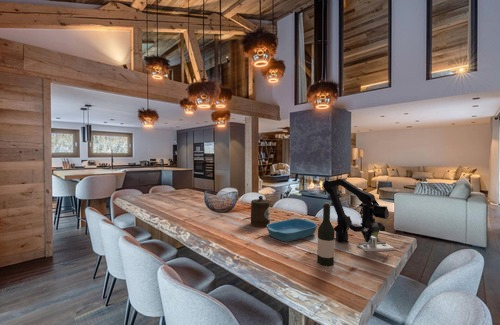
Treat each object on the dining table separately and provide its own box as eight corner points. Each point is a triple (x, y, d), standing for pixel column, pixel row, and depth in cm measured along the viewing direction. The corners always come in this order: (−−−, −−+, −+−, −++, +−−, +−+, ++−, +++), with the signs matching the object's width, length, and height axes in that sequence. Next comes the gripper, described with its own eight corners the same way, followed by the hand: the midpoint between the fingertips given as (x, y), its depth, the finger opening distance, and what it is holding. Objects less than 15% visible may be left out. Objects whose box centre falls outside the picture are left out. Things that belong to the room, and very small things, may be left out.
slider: (372, 247, 134) (372, 238, 134) (368, 244, 138) (368, 236, 138) (377, 246, 134) (377, 238, 134) (373, 244, 138) (373, 235, 138)
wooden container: (270, 227, 173) (271, 197, 172) (250, 227, 173) (250, 197, 172) (269, 221, 188) (269, 194, 187) (250, 221, 188) (251, 194, 187)
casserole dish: (282, 246, 138) (282, 234, 138) (260, 235, 157) (260, 224, 156) (323, 234, 159) (323, 224, 159) (299, 226, 177) (299, 217, 177)
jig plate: (365, 251, 132) (365, 247, 131) (357, 245, 139) (357, 242, 139) (394, 250, 134) (394, 246, 134) (384, 244, 142) (385, 241, 142)
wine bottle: (330, 259, 121) (331, 201, 120) (337, 266, 113) (338, 204, 112) (314, 259, 121) (315, 201, 120) (319, 266, 112) (321, 204, 112)
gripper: (360, 219, 126) (360, 248, 127) (392, 218, 128) (391, 247, 129) (349, 214, 137) (348, 240, 138) (379, 213, 140) (378, 239, 140)
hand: (366, 242), depth 136 cm, fingers closed
